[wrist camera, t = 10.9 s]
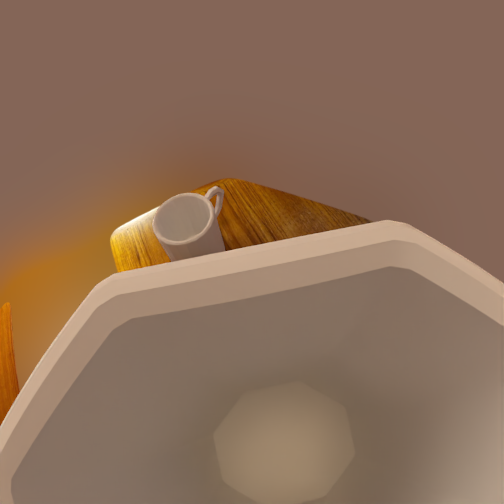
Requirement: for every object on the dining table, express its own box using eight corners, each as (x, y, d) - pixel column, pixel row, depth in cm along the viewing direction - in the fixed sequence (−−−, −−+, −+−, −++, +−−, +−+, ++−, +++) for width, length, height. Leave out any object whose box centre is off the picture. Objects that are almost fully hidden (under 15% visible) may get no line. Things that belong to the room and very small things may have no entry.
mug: (249, 228, 46) (244, 185, 38) (204, 289, 42) (186, 255, 33) (209, 208, 49) (197, 166, 40) (164, 263, 44) (140, 227, 36)
